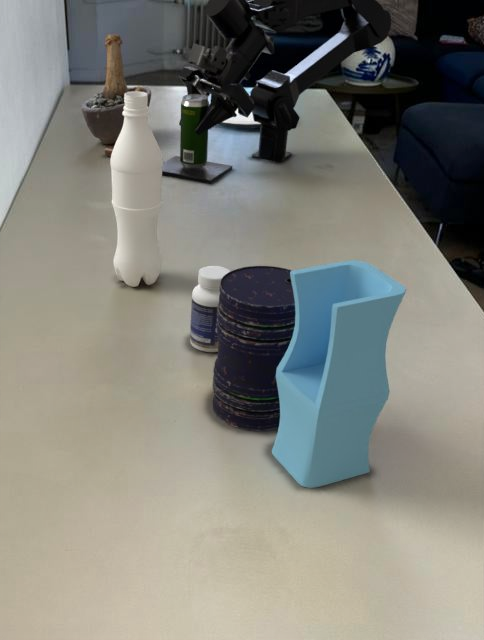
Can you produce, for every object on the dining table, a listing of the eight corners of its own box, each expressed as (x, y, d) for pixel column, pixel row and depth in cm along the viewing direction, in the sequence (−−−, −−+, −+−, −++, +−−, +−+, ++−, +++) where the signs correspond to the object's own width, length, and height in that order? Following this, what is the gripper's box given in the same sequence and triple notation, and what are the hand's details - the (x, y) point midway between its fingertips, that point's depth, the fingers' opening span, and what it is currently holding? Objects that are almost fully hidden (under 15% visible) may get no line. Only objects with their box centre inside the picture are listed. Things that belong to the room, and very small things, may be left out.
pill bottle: (218, 357, 97) (223, 285, 90) (182, 346, 99) (184, 274, 92) (238, 340, 100) (244, 269, 94) (202, 329, 102) (206, 259, 96)
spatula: (232, 170, 153) (233, 159, 152) (210, 184, 146) (211, 173, 145) (119, 149, 162) (119, 139, 161) (94, 162, 156) (94, 152, 155)
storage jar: (235, 439, 83) (246, 314, 74) (196, 394, 90) (202, 274, 80) (312, 419, 86) (333, 296, 77) (269, 377, 93) (284, 259, 83)
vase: (266, 448, 82) (289, 270, 69) (328, 431, 85) (361, 257, 71) (304, 490, 77) (337, 307, 64) (369, 472, 79) (413, 291, 66)
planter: (151, 129, 174) (150, 27, 161) (153, 151, 162) (153, 42, 149) (86, 129, 174) (80, 27, 161) (83, 151, 161) (77, 42, 148)
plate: (291, 133, 173) (292, 123, 172) (200, 131, 173) (200, 122, 172) (281, 109, 189) (282, 100, 187) (198, 108, 189) (198, 99, 188)
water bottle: (168, 273, 116) (171, 90, 99) (152, 293, 110) (152, 103, 94) (124, 266, 117) (119, 85, 101) (106, 285, 112) (99, 98, 96)
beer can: (203, 169, 149) (205, 101, 141) (176, 167, 150) (177, 99, 142) (209, 161, 152) (212, 94, 144) (184, 158, 154) (185, 92, 146)
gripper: (187, 17, 143) (138, 90, 146) (245, 33, 131) (190, 112, 134) (220, 60, 151) (172, 128, 155) (277, 79, 139) (224, 152, 143)
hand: (188, 129), depth 146 cm, fingers closed on beer can, 5 cm apart
